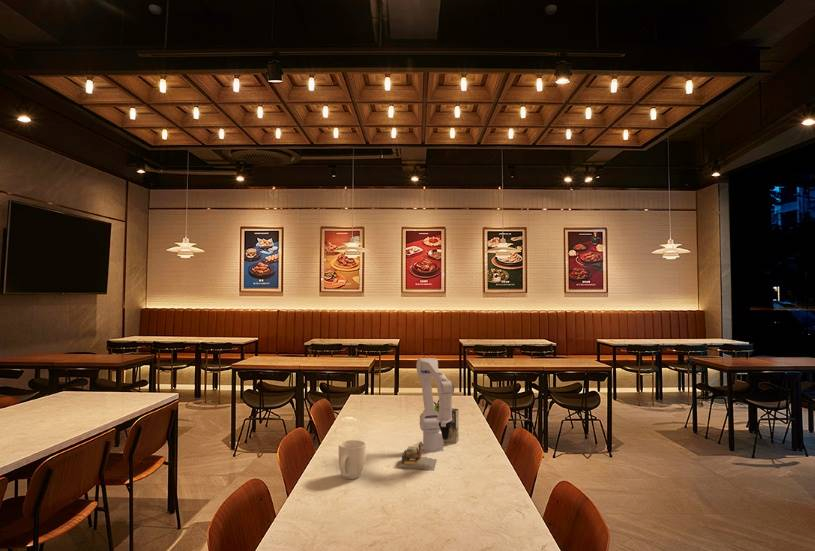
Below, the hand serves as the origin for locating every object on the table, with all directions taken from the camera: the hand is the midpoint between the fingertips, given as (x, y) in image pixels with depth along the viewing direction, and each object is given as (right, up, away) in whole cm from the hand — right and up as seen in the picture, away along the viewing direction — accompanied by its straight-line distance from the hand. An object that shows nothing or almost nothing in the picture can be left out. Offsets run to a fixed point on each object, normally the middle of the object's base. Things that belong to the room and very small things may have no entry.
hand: (445, 439), depth 200 cm
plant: (+3, -17, +84) cm, 86 cm away
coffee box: (+5, -13, +32) cm, 34 cm away
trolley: (-14, -8, -2) cm, 17 cm away
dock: (-12, -10, -3) cm, 16 cm away
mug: (-40, -9, -19) cm, 45 cm away
